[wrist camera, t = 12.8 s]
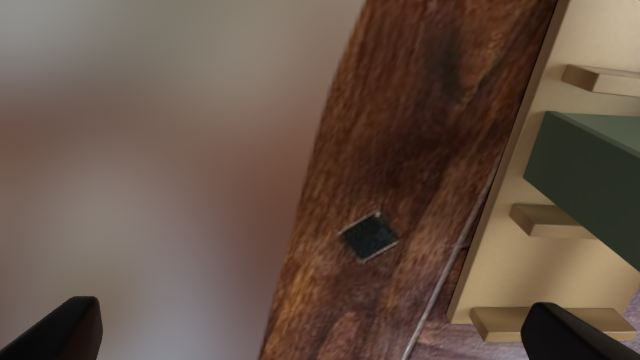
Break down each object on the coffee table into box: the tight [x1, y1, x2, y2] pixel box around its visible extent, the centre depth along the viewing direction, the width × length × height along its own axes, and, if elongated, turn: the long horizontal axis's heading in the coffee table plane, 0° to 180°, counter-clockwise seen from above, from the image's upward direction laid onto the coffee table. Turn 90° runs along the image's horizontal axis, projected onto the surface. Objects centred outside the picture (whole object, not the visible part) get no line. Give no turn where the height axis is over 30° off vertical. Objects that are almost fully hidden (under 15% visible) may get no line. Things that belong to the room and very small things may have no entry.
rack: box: [446, 0, 640, 342], centre depth 21 cm, size 12×24×3 cm, turn 172°
